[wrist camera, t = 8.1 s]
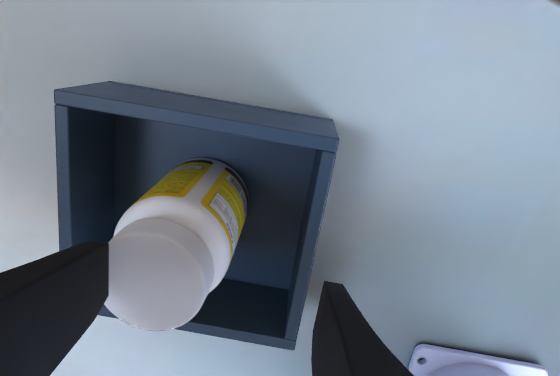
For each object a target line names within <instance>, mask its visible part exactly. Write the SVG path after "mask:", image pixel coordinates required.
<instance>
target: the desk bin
mask: <svg viewBox="0 0 560 376" xmlns="http://www.w3.org/2000/svg"><path fill="white" fill-rule="evenodd" d="M54 103H55V134H56V164H57V193H58V222H59V251H62V250H64V249H67V248H70V247H72V246H75V245H78V244H81V243H84V242H87V241H91V240H92V241H97V242H103V243H108V242H109V241H110V240H111V239H112V238H113V236H114V232H115V229H116V226H117V224H118V222H119V220H120V219H121V217H122V216H123V214H124V213H125V212H126V211H127V210H128V209H129V208H130V207H131V206H132V205H133V204H134V203H135V202H137V201H138V200H139V199H140V198H141V197H142V196H143V195H144V194H145V193H147V192H148V191H149V190H150V189H151V188H152V187H153V186H154V185H156V184H157V183H158V182H159V181H160V180H161V179H162V178H163V177H164V176H166V175H167V174H168V173H169V172H170V171H171V170H172V169H173V168H175V167H176V166H177V165H179V164H180V163H182V162H184V161H187V160H190V159H195V158H208V159H213V160H217V161H220V162H222V163H224V164H226V165H228V166H229V167H231V168H232V169H233V170H234V171H236V172H237V173H238V175H239V176H240V177H241V178H242V180H243V182H244V184H245V186H246V188H247V191H248V196H249V209H248V214H247V217H246V219H245V222H244V225H243V228H242V231H241V234H240V236H239V239H238V242H237V245H236V248H235V250H234V253H233V256H232V259H231V261H230V264H229V267H228V269H227V272H226V274H225V276H224V277H223V279H222V280H221V282H220V283H219V284H218V286H217V287H216V288H215V289H213V290H212V291H211V292H210V293H208V295H207V297H206V298H205V301H204V303H203V305H202V307H201V308H200V310H199V311H198V313H197V314H196V315H195V316H194V317H193V318H192V319H191V320H190V321H188V322H187V323H185V324H184V325H182V326H180V327H177V328H174V329H178V330H184V331H189V332H195V333H200V334H206V335H211V336H217V337H222V338H228V339H233V340H239V341H244V342H250V343H255V344H261V345H266V346H272V347H277V348H283V349H288V350H294V349H295V345H296V339H297V335H298V331H299V326H300V321H301V317H302V312H303V307H304V303H305V298H306V293H307V289H308V284H309V279H310V275H311V270H312V265H313V261H314V256H315V251H316V247H317V242H318V237H319V233H320V228H321V223H322V219H323V214H324V209H325V205H326V200H327V195H328V191H329V186H330V182H331V177H332V172H333V168H334V163H335V158H336V152H337V149H338V144H339V137H338V134H337V131H336V128H335V125H334V122H333V120H332V119H327V118H321V117H315V116H309V115H303V114H298V113H292V112H286V111H280V110H274V109H269V108H263V107H257V106H251V105H245V104H240V103H234V102H228V101H222V100H216V99H211V98H205V97H199V96H193V95H187V94H182V93H176V92H170V91H164V90H158V89H152V88H147V87H141V86H135V85H129V84H123V83H118V82H112V81H107V82H101V83H94V84H88V85H81V86H75V87H68V88H61V89H55V90H54ZM98 315H101V316H106V317H112V318H117V319H119V318H118V317H116V316H115V315H114V314H113V313H112V312H110V311H109V309H108V308H107V307H106V306H105V305H103V306H102V308H101V310H100V311H99V313H98Z"/></svg>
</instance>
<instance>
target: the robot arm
mask: <svg viewBox="0 0 560 376" xmlns="http://www.w3.org/2000/svg"><path fill="white" fill-rule="evenodd" d="M108 296H109V243H103V242H97V241H92V240H91V241H87V242H84V243H81V244H78V245H75V246H72V247H70V248H67V249H64V250H62V251H59V252H57V253H54V254H51V255H49V256H46V257H44V258H41V259H38V260H36V261H33V262H30V263H27V264H25V265H22V266H19V267H16V268H13V269H10V270H7V271H4V272H1V273H0V376H50V375H51V373H52V372H53V371H54V370H55V368H56V367H57V366H58V365H59V363H60V362H61V361H62V360H63V359H64V357H65V356H66V355H67V354H68V352H69V351H70V350H71V349H72V347H73V346H74V345H75V344H76V343H77V341H78V340H79V339H80V338H81V336H82V335H83V334H84V333H85V331H86V330H87V329H88V327H89V326H90V325H91V324H92V322H93V321H94V319H95V318H96V316H97V315H98V313H99V311H100V310H101V308H102V306H103V305H104V303H105V301H106V299H107V298H108ZM419 358H424V359H422V360H418V359H419ZM311 361H312V376H548V372H547V370H546V369H545V368H544V367H543V366H542V365H538V364H533V363H527V362H522V361H516V360H510V359H505V358H499V357H494V356H488V355H483V354H477V353H472V352H466V351H461V350H455V349H449V348H444V347H438V346H433V345H427V344H420V345H418V346H416V348H415V349H414V352H413V355H412V358H411V361H410V364H409V367H408V369H407V368H406V367H405V366H404V365H403V364H402V363H401V362H400V361H399V360H398V359H397V358H396V357H395V356H394V355H393V354H392V352H391V351H390V350H389V349H388V348H387V347H386V346H385V344H384V343H383V342H382V341H381V339H380V338H379V337H378V336H377V335H376V333H375V332H374V331H373V329H372V328H371V327H370V325H369V324H368V322H367V321H366V320H365V318H364V317H363V315H362V314H361V312H360V311H359V309H358V308H357V306H356V304H355V303H354V301H353V300H352V298H351V297H350V295H349V293H348V292H347V290H346V288H345V287H344V285H343V284H339V283H333V282H328V281H324V284H323V288H322V293H321V297H320V302H319V306H318V311H317V315H316V320H315V324H314V329H313V338H312V359H311Z"/></svg>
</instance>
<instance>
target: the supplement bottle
mask: <svg viewBox="0 0 560 376" xmlns="http://www.w3.org/2000/svg"><path fill="white" fill-rule="evenodd" d="M248 209H249V196H248V191H247V188H246V186H245V184H244V182H243V180H242V178H241V177H240V176H239V175H238V173H237V172H236V171H234V170H233V169H232V168H231V167H229V166H228V165H226V164H224V163H222V162H220V161H217V160H213V159H208V158H195V159H190V160H187V161H184V162H182V163H180V164H179V165H177V166H176V167H175V168H173V169H172V170H171V171H170V172H169V173H168V174H167V175H166V176H164V177H163V178H162V179H161V180H160V181H159V182H158V183H157V184H156V185H154V186H153V187H152V188H151V189H150V190H149V191H148V192H147V193H145V194H144V195H143V196H142V197H141V198H140V199H139V200H138V201H137V202H135V203H134V204H133V205H132V206H131V207H130V208H129V209H128V210H127V211H126V212H125V213H124V214H123V216H122V217H121V219H120V220H119V222H118V224H117V226H116V229H115V232H114V236H113V238H112V239H111V240H110V241H109V242H108V243H109V296H108V298H107V299H106V301H105V303H104V305H105V306H106V307H107V308H108V309H109V311H110V312H112V313H113V314H114V315H115V316H116V317H118V318H119V319H120V320H122V321H124V322H126V323H127V324H129V325H132V326H134V327H137V328H140V329H144V330H150V331H164V330H170V329H174V328H177V327H180V326H182V325H184V324H185V323H187V322H188V321H190V320H191V319H192V318H193V317H194V316H195V315H196V314H197V313H198V311H199V310H200V308H201V307H202V305H203V303H204V301H205V298H206V297H207V295H208V293H210V292H211V291H212V290H213V289H215V288H216V287H217V286H218V284H219V283H220V282H221V280H222V279H223V277H224V276H225V274H226V272H227V269H228V267H229V264H230V261H231V259H232V256H233V253H234V250H235V248H236V245H237V242H238V239H239V236H240V234H241V231H242V228H243V225H244V222H245V219H246V217H247V214H248Z"/></svg>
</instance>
